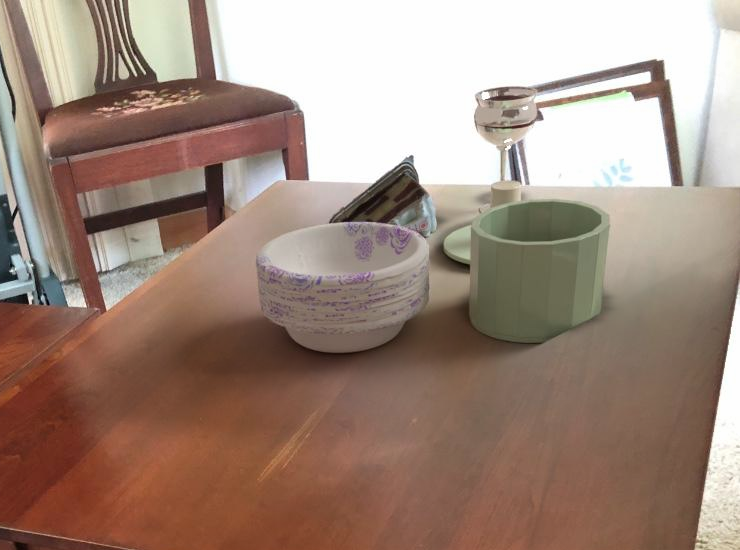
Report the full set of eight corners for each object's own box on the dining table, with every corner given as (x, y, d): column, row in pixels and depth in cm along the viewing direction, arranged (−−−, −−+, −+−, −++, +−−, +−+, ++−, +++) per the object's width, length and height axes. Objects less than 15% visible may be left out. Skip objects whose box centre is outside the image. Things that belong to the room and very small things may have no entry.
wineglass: (466, 202, 113) (468, 90, 105) (524, 196, 113) (530, 83, 105) (477, 221, 108) (480, 104, 100) (537, 214, 108) (545, 96, 100)
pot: (620, 330, 83) (633, 231, 77) (493, 351, 82) (497, 253, 77) (569, 283, 92) (577, 191, 86) (454, 302, 91) (455, 211, 86)
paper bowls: (443, 301, 91) (444, 216, 86) (410, 374, 80) (408, 281, 75) (292, 297, 96) (284, 216, 91) (241, 365, 85) (229, 277, 80)
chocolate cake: (352, 263, 103) (429, 169, 98) (320, 228, 106) (393, 136, 102) (398, 298, 110) (472, 212, 105) (367, 264, 114) (437, 180, 109)
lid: (584, 261, 96) (590, 192, 92) (464, 280, 95) (465, 212, 91) (539, 223, 105) (542, 159, 101) (429, 240, 104) (429, 177, 100)
